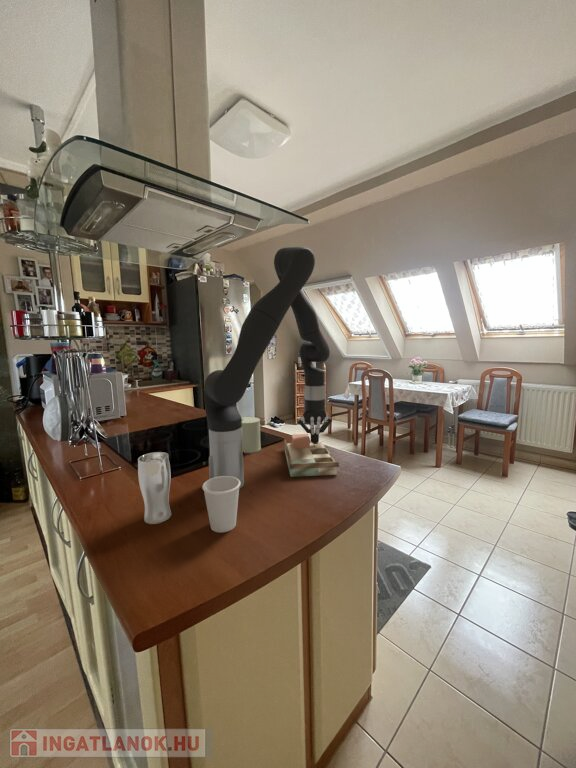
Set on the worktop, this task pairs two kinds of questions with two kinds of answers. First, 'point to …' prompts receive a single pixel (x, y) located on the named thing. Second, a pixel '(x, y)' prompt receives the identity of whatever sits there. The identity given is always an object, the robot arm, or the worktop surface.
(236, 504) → the dixie cup
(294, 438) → the salmon pink square block
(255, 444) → the can
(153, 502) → the beer glass
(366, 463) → the worktop surface
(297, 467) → the board
